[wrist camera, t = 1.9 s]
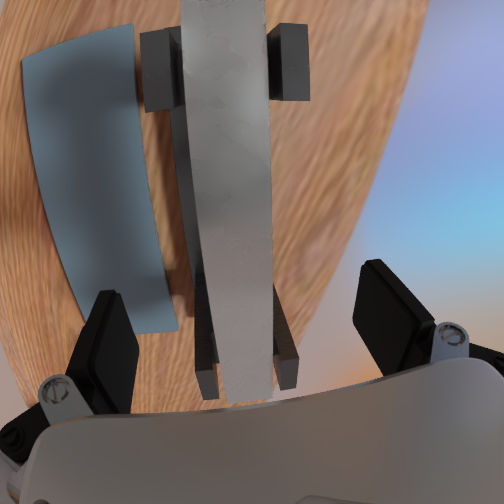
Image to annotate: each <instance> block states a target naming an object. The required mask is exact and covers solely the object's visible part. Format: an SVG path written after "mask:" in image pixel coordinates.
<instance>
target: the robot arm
mask: <svg viewBox="0 0 504 504" xmlns="http://www.w3.org/2000/svg"><path fill="white" fill-rule="evenodd" d="M434 320H435V319H434V318H433V316H432V315H431V314H430V313H429V312H428V311H427V309H426V308H425V307H424V306H423V305H422V304H421V303H420V301H419V300H418V299H417V298H416V297H415V296H414V295H413V294H412V292H411V291H410V290H409V289H408V288H407V287H406V286H405V285H404V284H403V283H402V281H401V280H400V279H399V278H398V277H397V276H396V275H395V274H394V273H393V272H392V271H391V270H390V269H389V268H388V267H387V265H386V264H384V262H383V261H382V260H381V259H374V260H367V261H366V262H365V264H364V265H362V266H361V271H360V277H359V284H358V290H357V296H356V301H355V307H354V312H353V324H354V326H355V328H356V329H357V331H358V333H359V334H360V336H361V338H362V340H363V341H364V343H365V345H366V346H367V348H368V350H369V352H370V353H371V355H372V357H373V359H374V360H375V362H376V364H377V366H378V367H379V369H380V371H381V373H382V374H383V376H384V377H381V378H377V379H374V380H370V381H366V382H363V383H359V384H355V385H351V386H347V387H343V388H339V389H335V390H330V391H326V392H321V393H317V394H312V395H307V396H302V397H296V398H291V399H285V400H280V401H274V402H267V403H261V404H254V405H246V406H239V407H230V408H221V409H211V410H200V411H186V412H168V413H143V414H130V411H131V403H132V396H133V389H134V382H135V376H136V369H137V363H138V357H139V345H138V342H137V339H136V336H135V334H134V331H133V328H132V325H131V323H130V320H129V317H128V314H127V311H126V308H125V305H124V302H123V299H122V296H121V294H120V293H116V291H115V290H114V289H111V290H101V291H100V292H99V293H98V296H97V298H96V300H95V303H94V305H93V307H92V310H91V312H90V314H89V317H88V319H87V322H86V324H85V326H83V328H82V330H81V333H80V335H79V338H78V340H77V343H76V345H75V348H74V351H73V353H72V356H71V359H70V362H69V364H68V367H67V370H66V373H65V375H62V374H58V375H53V376H51V377H49V378H48V379H46V380H45V381H44V382H43V383H42V384H41V386H40V388H39V390H38V398H39V402H38V403H37V404H35V405H34V406H33V407H31V408H30V409H28V410H27V411H25V412H24V413H22V414H21V415H19V416H18V417H17V418H15V419H14V420H12V421H10V422H9V423H7V424H6V425H5V426H4V427H3V428H2V429H1V431H0V504H504V354H503V353H501V352H498V351H494V350H491V349H488V348H485V347H482V346H478V345H475V344H472V343H469V336H468V334H467V332H466V331H465V329H464V328H462V327H461V326H459V325H457V324H455V323H452V322H443V323H440V324H439V325H437V326H436V324H435V323H434Z"/></svg>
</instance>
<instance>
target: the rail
mask: <svg viewBox="0 0 504 504" xmlns="http://www.w3.org/2000/svg"><path fill="white" fill-rule="evenodd" d="M180 8H181V36H182V56H183V73H184V88H185V102H186V114H187V126H188V137H189V148H190V158H191V167H192V177H193V186H194V195H195V203H196V211H197V219H198V227H199V235H200V242H201V250H202V257H203V264H204V271H205V277H206V284H207V291H208V297H209V303H210V310H211V316H212V322H213V328H214V334H215V339H216V345H217V351H218V356H219V362H220V367H221V372H222V378H223V383H224V388H225V393H226V398H227V403H228V404H231V403H240V402H248V401H255V400H262V399H269V398H272V393H273V241H272V183H271V143H270V111H269V84H268V60H267V39H266V19H265V1H264V0H180Z"/></svg>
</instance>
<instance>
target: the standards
mask: <svg viewBox="0 0 504 504" xmlns="http://www.w3.org/2000/svg"><path fill="white" fill-rule="evenodd" d="M266 39H267V60H268V84H269V99H270V100H280V101H310V72H309V45H308V25H306V24H292V23H279V24H278V25H277V26H276V27H275V28H274V29H272V30H271V31H270V32H269V33H268V34H267V35H266ZM140 51H141V68H142V83H143V95H144V106H145V113H147V112H154V111H160V110H167V109H169V110H170V121H171V131H172V141H173V150H174V159H175V167H176V176H177V183H178V191H179V199H180V206H181V213H182V220H183V226H184V233H185V239H186V246H187V252H188V258H189V264H190V270H191V275H192V281H193V287H194V292H195V317H194V334H195V373H196V377H197V380H198V384H199V387H200V390H201V394H202V397H203V400H212V399H219V388H218V377H217V366H216V363H220V362H219V356H218V351H217V345H216V339H215V334H214V328H213V322H212V316H211V310H210V303H209V297H208V291H207V284H206V277H205V271H204V264H203V257H202V250H201V242H200V235H199V227H198V219H197V211H196V203H195V195H194V186H193V177H192V167H191V158H190V148H189V137H188V126H187V114H186V102H185V88H184V73H183V56H182V36H181V26H176V27H169V28H164V29H163V30H157V31H151V32H145V33H140ZM273 364H274V368H275V372H276V376H277V379H278V383H279V386H280V390H287V389H293V388H296V384H297V374H298V365H299V356H298V353H297V350H296V347H295V344H294V341H293V338H292V336H291V333H290V330H289V327H288V324H287V321H286V318H285V315H284V312H283V310H282V307H281V304H280V301H279V298H278V295H277V292H276V289H275V287H274V284H273Z"/></svg>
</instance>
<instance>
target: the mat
mask: <svg viewBox="0 0 504 504" xmlns="http://www.w3.org/2000/svg"><path fill="white" fill-rule="evenodd" d="M22 65H23V84H24V97H25V107H26V115H27V123H28V130H29V137H30V143H31V149H32V154H33V160H34V165H35V169H36V174H37V179H38V183H39V187H40V191H41V196H42V199H43V203H44V207H45V211H46V214H47V218H48V221H49V225H50V228H51V231H52V235H53V238H54V241H55V244H56V247H57V250H58V253H59V256H60V259H61V261H62V264H63V267H64V270H65V272H66V275H67V278H68V280H69V283H70V285H71V288H72V290H73V293H74V295H75V298H76V300H77V303H78V305H79V307H80V309H81V312H82V314H83V316H84V319H85V321H86V322H87V319H88V317H89V314H90V312H91V310H92V307H93V305H94V303H95V300H96V298H97V296H98V293H99V292H100V291H101V290H111V289H114V290H115V291H116V293H120V294H121V296H122V299H123V302H124V305H125V308H126V311H127V314H128V317H129V320H130V323H131V325H132V328H133V331H134V334H146V333H160V332H173V331H178V328H179V327H178V323H177V319H176V315H175V311H174V307H173V303H172V299H171V295H170V290H169V286H168V282H167V278H166V273H165V269H164V264H163V259H162V255H161V250H160V245H159V240H158V235H157V230H156V224H155V219H154V213H153V208H152V202H151V196H150V190H149V184H148V177H147V171H146V164H145V157H144V149H143V141H142V133H141V124H140V115H139V105H138V94H137V82H136V68H135V51H134V25H133V24H132V23H131V24H126V25H122V26H117V27H113V28H109V29H105V30H102V31H98V32H94V33H91V34H88V35H84V36H81V37H78V38H75V39H72V40H69V41H66V42H63V43H60V44H57V45H55V46H52V47H49V48H47V49H44V50H42V51H39V52H37V53H34V54H32V55H30V56H27V57H25V58H23V59H22Z"/></svg>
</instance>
